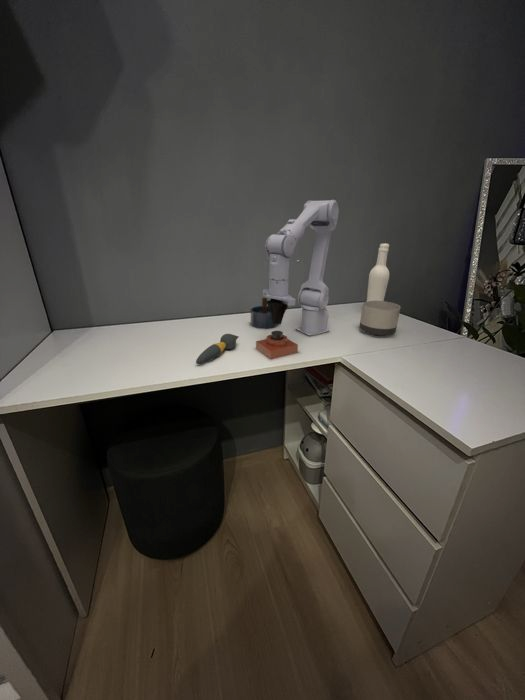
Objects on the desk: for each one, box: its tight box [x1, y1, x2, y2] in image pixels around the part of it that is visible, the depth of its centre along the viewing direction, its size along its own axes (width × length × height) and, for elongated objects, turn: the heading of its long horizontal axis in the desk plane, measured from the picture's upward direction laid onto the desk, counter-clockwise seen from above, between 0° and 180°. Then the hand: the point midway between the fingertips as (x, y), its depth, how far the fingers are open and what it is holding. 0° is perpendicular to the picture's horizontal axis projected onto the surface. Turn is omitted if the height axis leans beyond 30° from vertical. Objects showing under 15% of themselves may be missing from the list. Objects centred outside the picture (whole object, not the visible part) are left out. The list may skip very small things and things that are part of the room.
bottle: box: [366, 243, 390, 301], centre depth 124 cm, size 8×8×30 cm
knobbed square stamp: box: [255, 334, 299, 360], centre depth 94 cm, size 10×9×4 cm
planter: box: [358, 300, 401, 337], centre depth 109 cm, size 13×13×10 cm
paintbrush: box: [195, 333, 240, 365], centre depth 91 cm, size 20×5×5 cm, turn 155°
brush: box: [258, 297, 271, 313], centre depth 117 cm, size 6×6×10 cm
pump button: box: [270, 330, 284, 340], centre depth 93 cm, size 4×4×2 cm
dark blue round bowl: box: [250, 305, 278, 330], centre depth 118 cm, size 11×11×6 cm
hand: (277, 323), depth 91 cm, fingers closed
